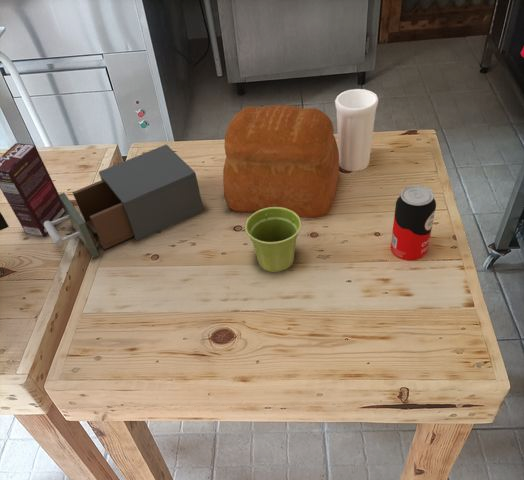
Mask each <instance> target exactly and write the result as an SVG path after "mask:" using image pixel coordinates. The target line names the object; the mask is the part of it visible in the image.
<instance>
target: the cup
mask: <svg viewBox="0 0 524 480" xmlns="http://www.w3.org/2000/svg"><path fill="white" fill-rule="evenodd" d="M377 95H378V94H376V93H375V92H373V91H371V90H368V89H366V88H365V89H364V88H353V89H347V90H345V91H342V92H341V93H340V94H338V95H337V96H336V98H335V100H334V104H335V109H336V131H337V134H336V135H337V147H338V152H339V168H341V169H342V170H345V171H349V172H358V171H359V172H360V171H362V170H364V169H367V167H369V164H370V158H371V151H372V143H373V136H374V135H373V134H374V126H375V119H376V113H377V107H378V104H379V98H378V96H377Z"/></svg>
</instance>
